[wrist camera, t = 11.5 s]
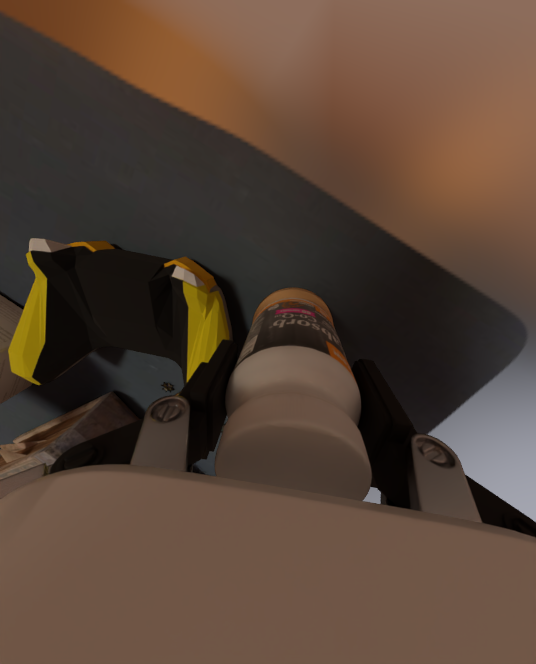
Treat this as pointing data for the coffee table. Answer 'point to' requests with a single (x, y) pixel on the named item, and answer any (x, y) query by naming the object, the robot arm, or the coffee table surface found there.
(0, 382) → the white product box
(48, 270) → the gaming controller
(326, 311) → the coaster
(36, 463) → the book
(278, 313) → the pill bottle
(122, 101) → the coffee table surface
